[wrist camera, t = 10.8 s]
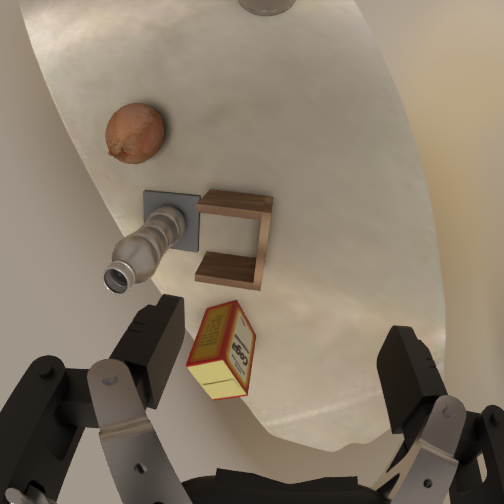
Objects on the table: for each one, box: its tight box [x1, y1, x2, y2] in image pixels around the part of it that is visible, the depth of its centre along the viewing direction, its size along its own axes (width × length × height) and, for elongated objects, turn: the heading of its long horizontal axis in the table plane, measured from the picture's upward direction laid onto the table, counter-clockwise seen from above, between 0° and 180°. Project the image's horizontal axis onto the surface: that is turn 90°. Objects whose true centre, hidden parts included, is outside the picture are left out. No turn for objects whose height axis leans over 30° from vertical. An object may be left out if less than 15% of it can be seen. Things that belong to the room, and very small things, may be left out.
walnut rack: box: [195, 190, 273, 291], centre depth 47 cm, size 12×10×8 cm
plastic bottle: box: [103, 206, 186, 295], centre depth 41 cm, size 6×7×20 cm
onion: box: [105, 103, 164, 164], centre depth 41 cm, size 10×9×10 cm
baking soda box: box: [186, 300, 256, 400], centre depth 52 cm, size 10×6×16 cm
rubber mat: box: [143, 190, 201, 252], centre depth 51 cm, size 10×10×1 cm
